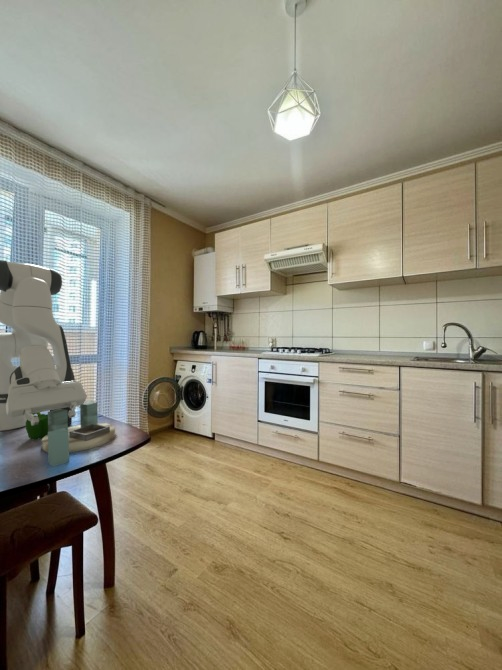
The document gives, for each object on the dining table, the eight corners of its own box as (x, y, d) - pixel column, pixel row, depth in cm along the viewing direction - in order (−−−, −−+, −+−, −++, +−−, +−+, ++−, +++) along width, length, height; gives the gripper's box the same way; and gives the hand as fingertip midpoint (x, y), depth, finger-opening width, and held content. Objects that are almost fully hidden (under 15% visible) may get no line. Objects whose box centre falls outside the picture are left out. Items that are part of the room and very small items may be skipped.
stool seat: (35, 441, 98) (34, 408, 98) (102, 425, 114) (101, 397, 114) (50, 459, 83) (49, 421, 83) (125, 438, 99) (124, 406, 99)
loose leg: (48, 462, 81) (47, 432, 81) (64, 457, 84) (63, 428, 84) (53, 466, 78) (52, 434, 78) (69, 461, 82) (68, 430, 82)
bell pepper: (50, 431, 107) (49, 406, 107) (57, 436, 102) (56, 409, 102) (22, 438, 101) (22, 411, 101) (28, 443, 96) (28, 415, 96)
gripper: (77, 385, 98) (89, 418, 92) (1, 396, 82) (9, 435, 76) (82, 374, 96) (95, 406, 90) (4, 382, 80) (13, 422, 74)
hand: (54, 420), depth 83 cm, fingers open, 8 cm apart
